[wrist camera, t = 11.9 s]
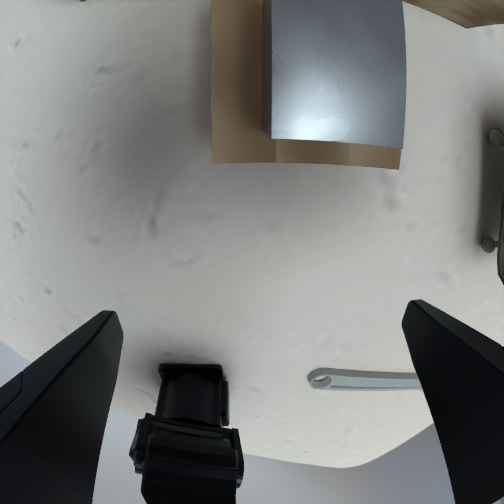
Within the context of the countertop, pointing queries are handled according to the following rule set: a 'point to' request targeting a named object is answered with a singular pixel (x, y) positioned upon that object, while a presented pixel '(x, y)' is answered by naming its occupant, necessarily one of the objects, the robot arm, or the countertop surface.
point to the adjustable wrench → (363, 380)
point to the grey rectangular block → (334, 71)
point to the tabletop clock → (488, 242)
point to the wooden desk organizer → (250, 88)
